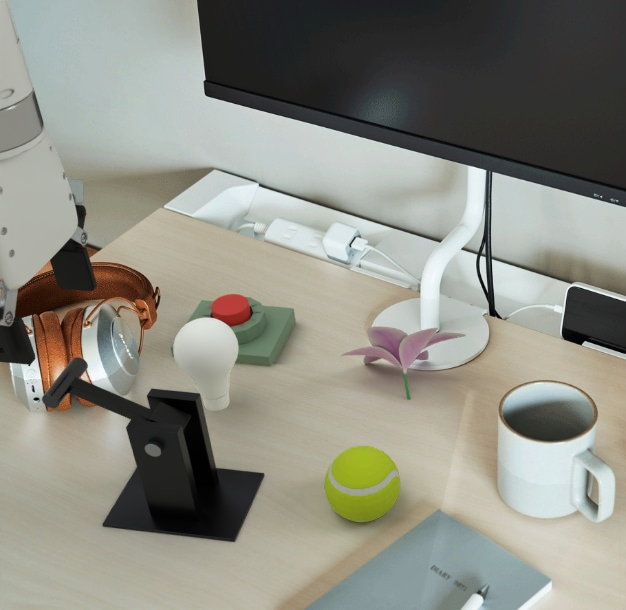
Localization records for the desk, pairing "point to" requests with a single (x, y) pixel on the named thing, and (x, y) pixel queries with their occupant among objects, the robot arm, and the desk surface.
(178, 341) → the lightbulb
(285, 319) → the button box
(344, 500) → the tennis ball
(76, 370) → the switch lever
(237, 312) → the button
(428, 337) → the lily
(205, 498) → the switch bracket
